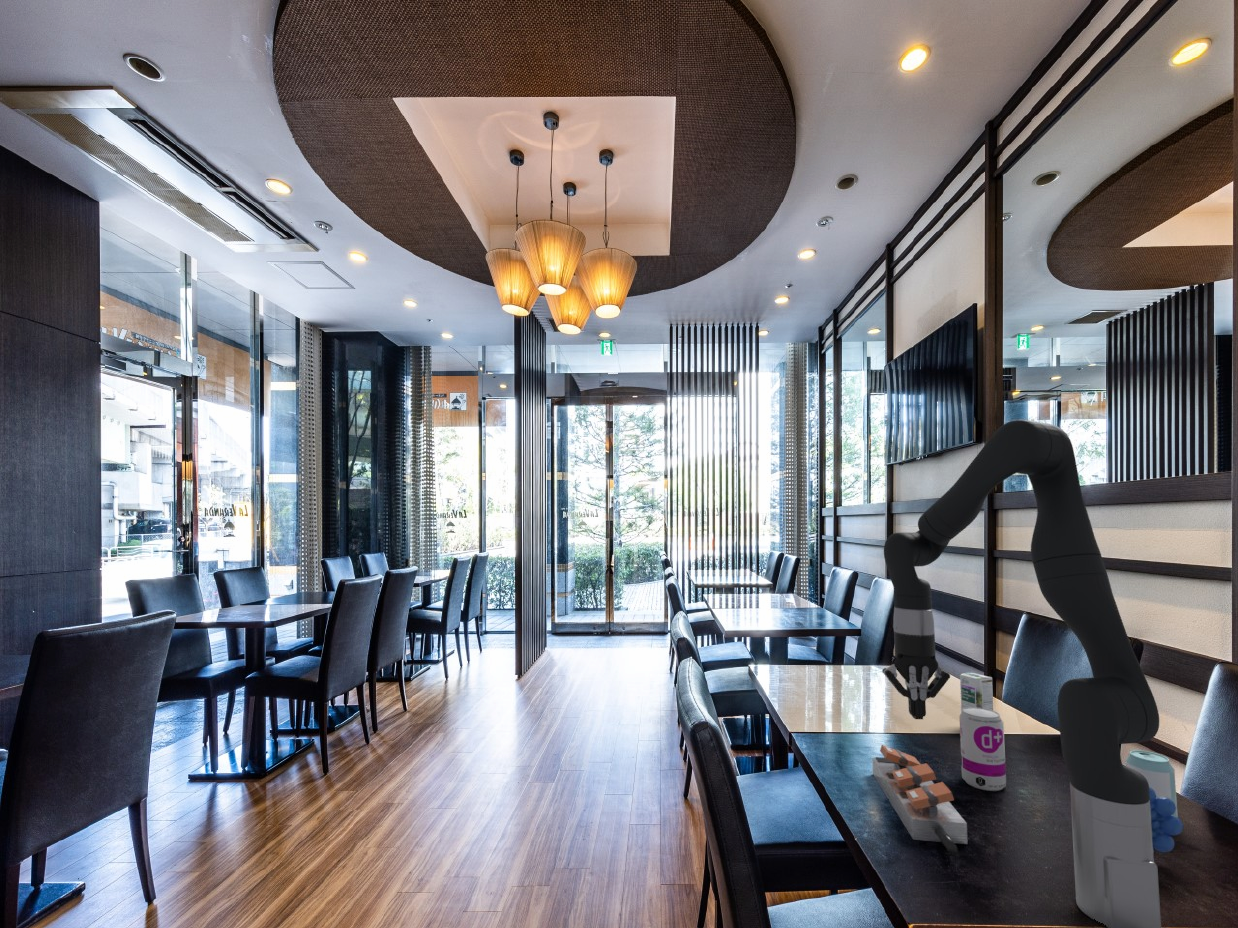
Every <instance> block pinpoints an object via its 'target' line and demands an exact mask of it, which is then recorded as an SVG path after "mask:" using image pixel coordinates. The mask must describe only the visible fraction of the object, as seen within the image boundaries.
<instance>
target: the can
mask: <svg viewBox="0 0 1238 928" xmlns="http://www.w3.org/2000/svg"><path fill="white" fill-rule="evenodd" d="M1125 766H1126V767H1129V768H1131V769H1133V770H1135V771H1137V772H1139V773H1141V774H1142V775H1143V776H1144V777H1145V778H1146V779H1147V781H1148V784H1149V787H1151V788H1152V789H1153V790H1154V791H1155V794H1156V798H1159V797H1166V798H1169V799H1171V800H1172V801H1173V802H1174V804H1175V806H1176V810H1175V812H1174V814H1173V815H1171V816H1174V817H1177V818H1178V819H1179V817H1178V816H1179V815H1178V803H1177V790H1176V789H1177V787H1176V786H1177V785H1176V775H1175V774H1176V773H1175V772H1176V771H1175V768H1174V767H1173V765H1172V764H1171V763H1170V759H1169V758H1168V757H1167V756H1165V755H1162V754H1159V753H1156V752H1152V751H1149V750H1143V749H1142V750H1139V749H1137V750H1136V749H1135V750H1130V751H1129V755H1128V756H1127V757H1126V759H1125Z"/></svg>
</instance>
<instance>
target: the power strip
mask: <svg viewBox="0 0 1238 928" xmlns="http://www.w3.org/2000/svg"><path fill="white" fill-rule="evenodd" d="M904 768H907V767H906V766H901V765H900V764H898V763H896V762H893V761H890V760H888V759H885V757H881V756H880V757H879V756H878V757H877V756H876V757H872V775H873V777H874V778H875V780H876V781H877V784H878V785H879V787H880V788H881V790H882V791H883V793H884V794H885V796H886V798H887V799H889V800H888V801H889V803H890V805H891V806H892V808H893V809H894V812H896V813H897V815H898V817H899V819H900V820H901V822H902V825H904V827H905V829H906V830H907V831H908V833H909V836H910V837H911V838H912V840H917V841H926V842H927V841H928V842H938V843H942V844H943V846H944V848H946V851H947V852H948V853H949V854H950V855H954V856H955V855H957V854H958V852H959V849H958V847H957V845H956V844H959V845H961V844H962V845H963V844H964V845H968V823H967V822H966V820H965V819H964V818H963V817H962V815H961V814H960V813H959V812H958V810H957V809H956V808H955V807H954V805H952V803H951V801H948V802H944V803H940V804H938V805H936V806H928V807H924V808H920V809H915V808H914V806H913V805H912V804H911V802H910V801H909V799H908V797H907V794H906V791H908V790H912V789H916V788H920V787H922V786H923V785H926V786H928V785H932V784H935V783H934V781H933V780H932V781H927V782H923V783H921V784H919V785H916V784H914V785H910V786H906V787H902V788H900V786H899V785H898V783H897V782H896V780H895V779H894V776H893V773H892V771H895V770H900V769H904Z"/></svg>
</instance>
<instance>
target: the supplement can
mask: <svg viewBox="0 0 1238 928" xmlns="http://www.w3.org/2000/svg"><path fill="white" fill-rule="evenodd" d="M958 717H959V737H960V738H959V739H960V760H961V761H960V762H961V763H960V765H961V777H962V779H963V780H964V781H965V783H966V784H968V785H969V786H970V787H973V788H976V789H978V790H983V791H988V792H989V791H990V792H997V791H998V792H999V791H1001V790H1003V789H1004V788H1005V787H1006V786H1007V772H1006V771H1007V770H1006V768H1007V767H1006V750H1005V749H1006V748H1005V727H1004V726H1005V725H1004V721H1003V719H1002V718H1001V715H1000V713H999V712H997V711H995V710H993V711H992V710H989V709H985V708H977V707H967V708H963V709H962V713H960V715H959V716H958Z"/></svg>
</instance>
